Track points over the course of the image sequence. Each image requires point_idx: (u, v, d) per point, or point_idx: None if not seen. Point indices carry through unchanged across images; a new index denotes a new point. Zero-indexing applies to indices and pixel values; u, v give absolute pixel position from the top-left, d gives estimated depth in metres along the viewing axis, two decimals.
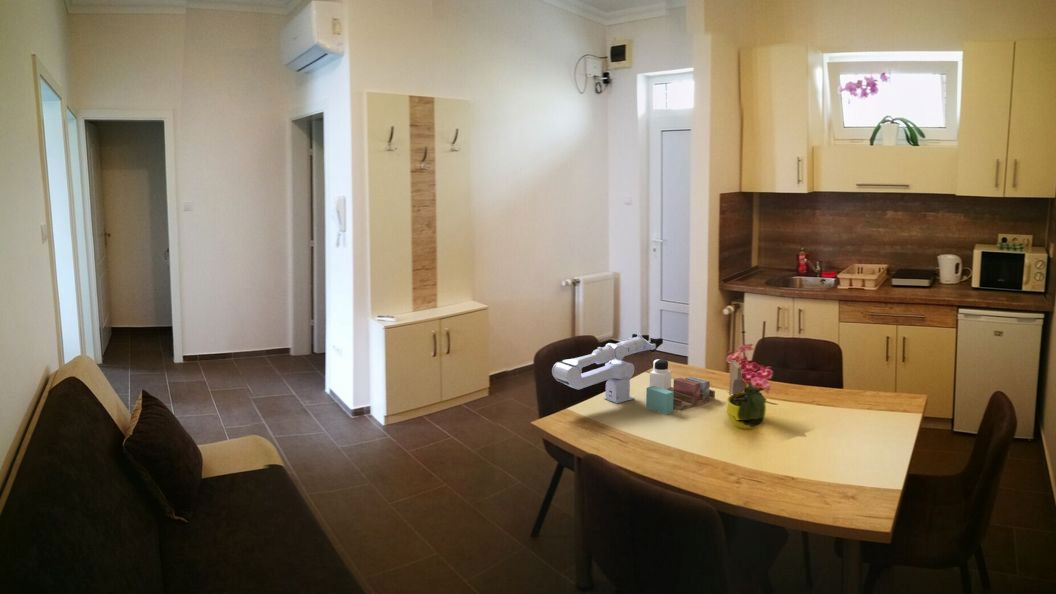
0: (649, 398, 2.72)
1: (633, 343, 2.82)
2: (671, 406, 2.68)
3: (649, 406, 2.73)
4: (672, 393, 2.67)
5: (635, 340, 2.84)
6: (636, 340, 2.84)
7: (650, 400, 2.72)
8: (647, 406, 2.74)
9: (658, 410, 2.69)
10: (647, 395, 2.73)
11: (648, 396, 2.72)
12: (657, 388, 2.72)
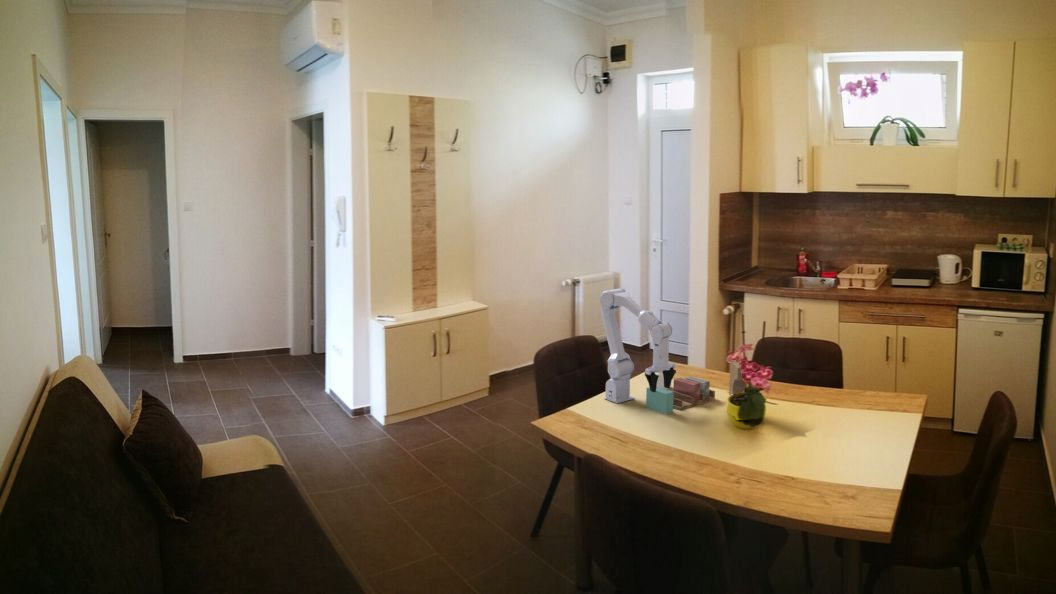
0: (649, 398, 2.72)
1: (661, 354, 2.65)
2: (671, 406, 2.68)
3: (649, 406, 2.73)
4: (672, 393, 2.67)
5: (663, 359, 2.65)
6: (662, 360, 2.65)
7: (650, 400, 2.72)
8: (647, 406, 2.74)
9: (658, 410, 2.69)
10: (647, 395, 2.73)
11: (648, 396, 2.73)
12: (657, 388, 2.72)
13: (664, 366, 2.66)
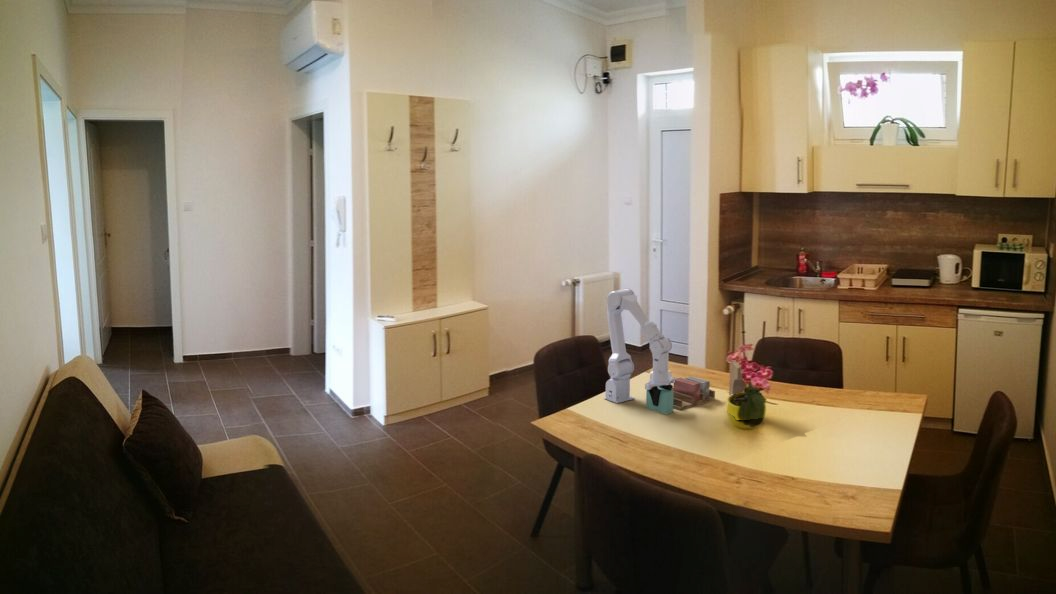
0: (649, 398, 2.72)
1: (660, 369, 2.66)
2: (671, 406, 2.68)
3: (649, 406, 2.73)
4: (672, 393, 2.67)
5: (662, 374, 2.66)
6: (662, 375, 2.66)
7: (650, 400, 2.72)
8: (647, 406, 2.74)
9: (658, 410, 2.69)
10: (647, 395, 2.73)
11: (648, 396, 2.72)
12: None
13: (664, 381, 2.67)
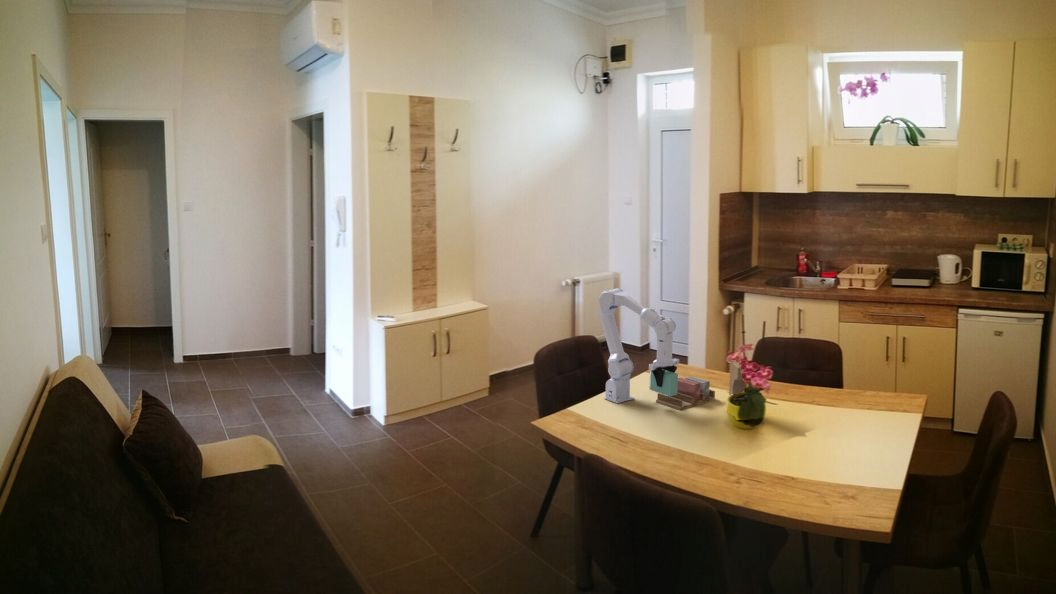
0: (653, 380, 2.73)
1: (665, 350, 2.66)
2: (675, 388, 2.68)
3: (653, 388, 2.73)
4: (676, 375, 2.67)
5: (666, 355, 2.66)
6: (666, 356, 2.66)
7: (655, 382, 2.72)
8: (651, 388, 2.74)
9: (662, 392, 2.69)
10: (651, 378, 2.73)
11: (652, 378, 2.73)
12: None
13: (668, 362, 2.67)
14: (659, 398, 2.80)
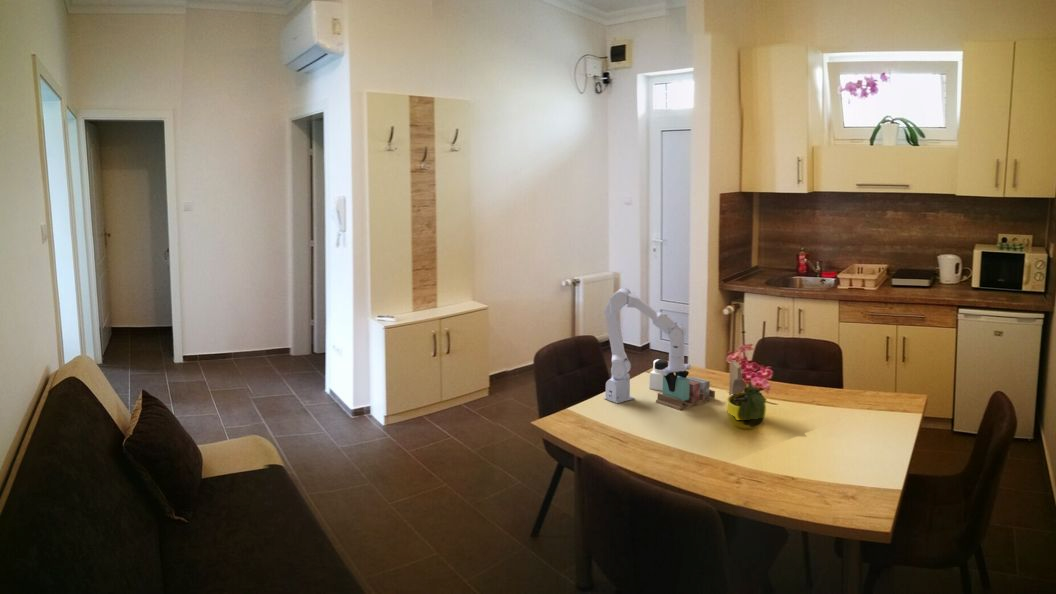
0: (665, 385, 2.78)
1: (680, 355, 2.72)
2: (687, 393, 2.74)
3: (665, 393, 2.79)
4: (688, 380, 2.73)
5: (679, 360, 2.72)
6: (678, 361, 2.72)
7: (667, 387, 2.78)
8: (663, 393, 2.80)
9: (674, 397, 2.75)
10: (663, 383, 2.79)
11: (664, 383, 2.79)
12: None
13: (680, 367, 2.73)
14: (659, 398, 2.80)
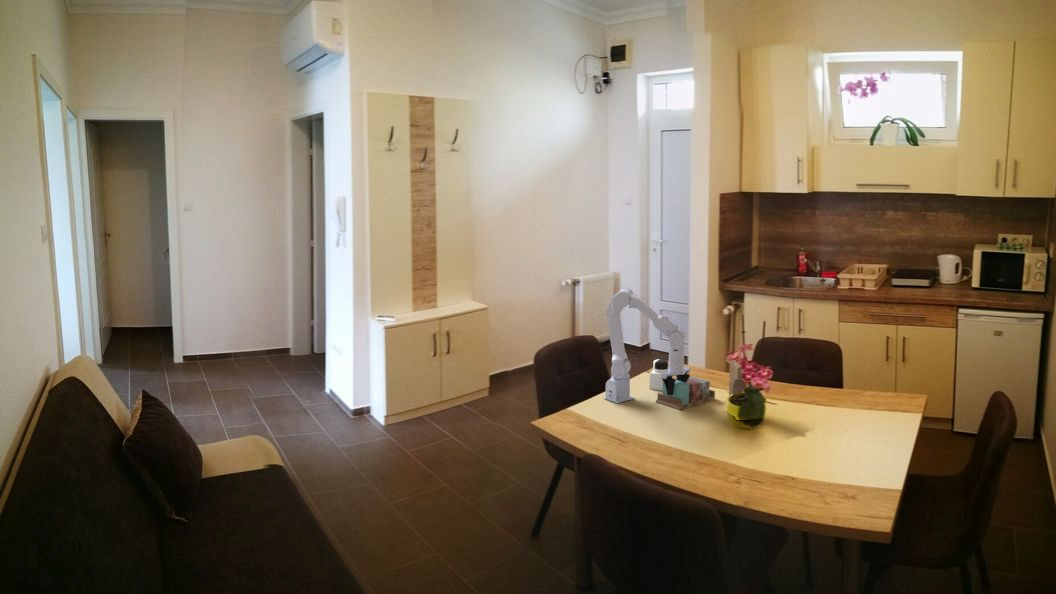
0: (665, 390, 2.79)
1: (680, 358, 2.72)
2: (686, 398, 2.74)
3: None
4: (688, 385, 2.74)
5: (678, 364, 2.72)
6: (678, 365, 2.73)
7: (666, 392, 2.78)
8: None
9: None
10: (663, 387, 2.79)
11: (664, 388, 2.79)
12: None
13: (680, 370, 2.73)
14: (659, 398, 2.80)
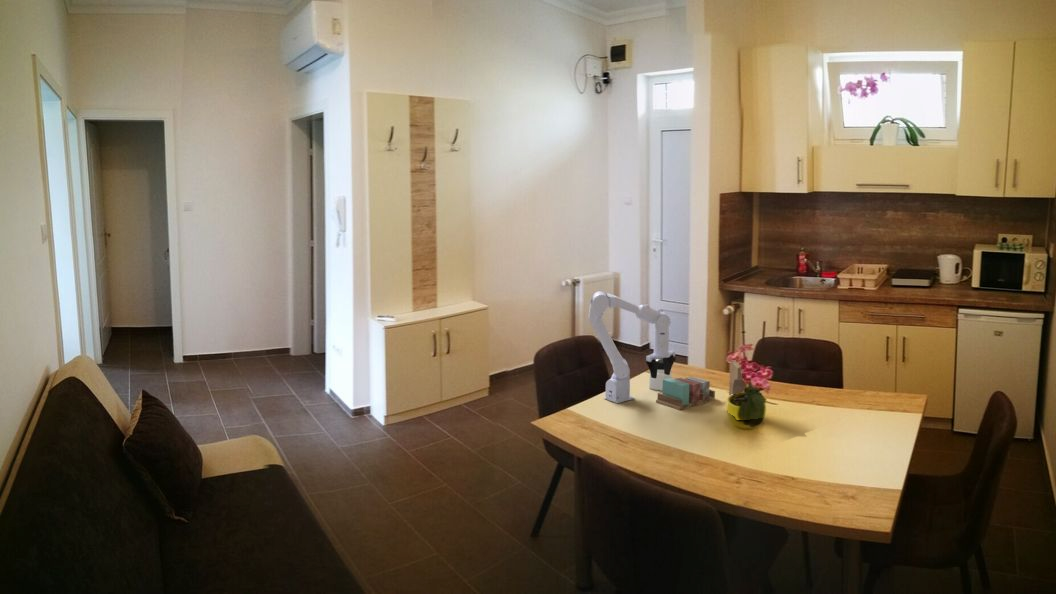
0: (665, 390, 2.79)
1: (666, 341, 2.78)
2: (686, 398, 2.74)
3: None
4: (688, 385, 2.74)
5: (663, 347, 2.78)
6: (663, 348, 2.78)
7: (666, 392, 2.78)
8: None
9: None
10: (663, 387, 2.79)
11: (664, 388, 2.79)
12: (673, 380, 2.78)
13: (664, 353, 2.79)
14: (659, 398, 2.80)
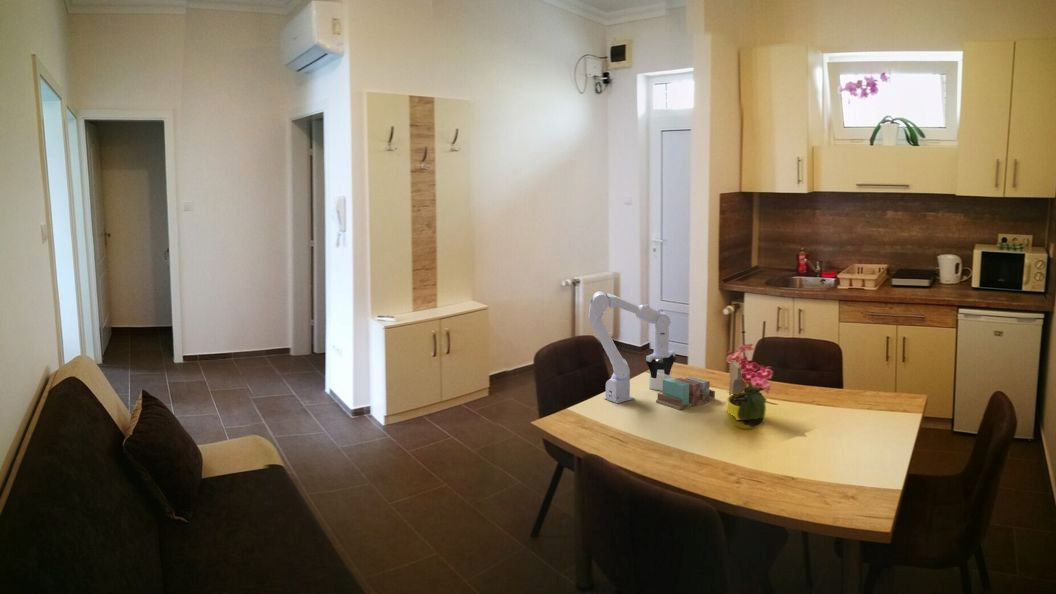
0: (665, 390, 2.79)
1: (666, 341, 2.78)
2: (686, 398, 2.74)
3: None
4: (688, 385, 2.74)
5: (663, 347, 2.78)
6: (663, 348, 2.78)
7: (666, 392, 2.78)
8: None
9: None
10: (663, 387, 2.79)
11: (664, 388, 2.79)
12: (673, 380, 2.78)
13: (664, 353, 2.79)
14: (659, 398, 2.80)
